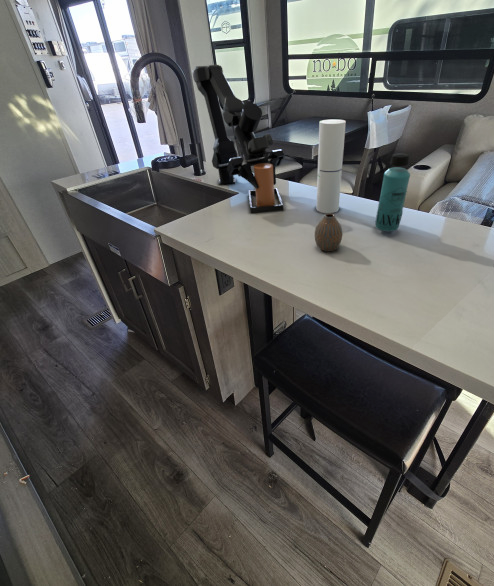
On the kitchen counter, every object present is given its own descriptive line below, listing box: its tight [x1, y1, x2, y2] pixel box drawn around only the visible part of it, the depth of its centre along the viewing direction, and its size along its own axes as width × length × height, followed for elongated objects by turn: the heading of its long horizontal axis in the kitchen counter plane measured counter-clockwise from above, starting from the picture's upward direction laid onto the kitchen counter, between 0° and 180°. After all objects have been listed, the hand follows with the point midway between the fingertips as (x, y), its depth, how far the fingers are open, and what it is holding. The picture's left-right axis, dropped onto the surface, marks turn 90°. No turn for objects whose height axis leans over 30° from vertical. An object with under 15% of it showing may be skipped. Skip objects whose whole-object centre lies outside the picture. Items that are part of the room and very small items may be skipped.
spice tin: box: [253, 163, 276, 207], centre depth 100 cm, size 6×6×13 cm
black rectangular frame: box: [247, 187, 284, 214], centre depth 106 cm, size 17×11×2 cm, turn 6°
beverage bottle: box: [374, 153, 411, 232], centre depth 80 cm, size 6×7×20 cm
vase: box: [314, 213, 343, 252], centre depth 77 cm, size 7×7×9 cm
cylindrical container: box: [315, 118, 346, 214], centre depth 93 cm, size 7×7×25 cm
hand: (266, 186), depth 98 cm, fingers closed on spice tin, 6 cm apart
